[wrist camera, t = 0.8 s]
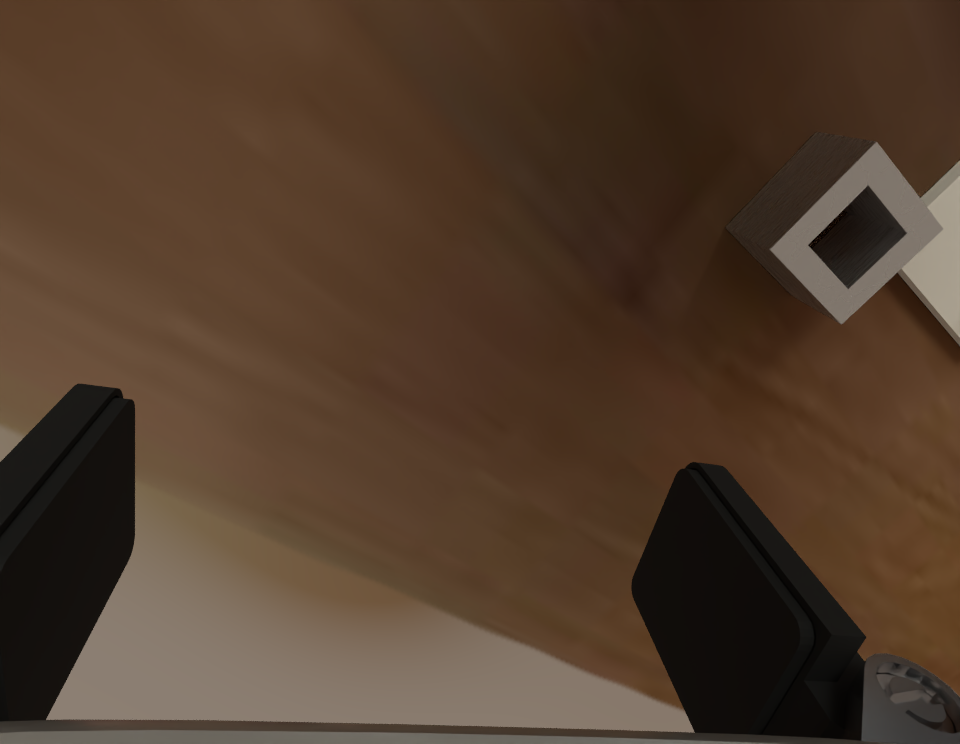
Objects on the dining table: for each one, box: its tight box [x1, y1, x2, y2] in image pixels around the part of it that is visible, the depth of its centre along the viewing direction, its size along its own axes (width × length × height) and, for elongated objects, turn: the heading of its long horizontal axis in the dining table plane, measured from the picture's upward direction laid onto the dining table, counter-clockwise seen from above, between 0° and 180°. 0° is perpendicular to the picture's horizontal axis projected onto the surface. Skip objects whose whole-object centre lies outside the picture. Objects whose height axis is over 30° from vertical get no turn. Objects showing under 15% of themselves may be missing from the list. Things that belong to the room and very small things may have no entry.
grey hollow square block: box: [725, 132, 943, 325], centre depth 36 cm, size 7×7×5 cm
